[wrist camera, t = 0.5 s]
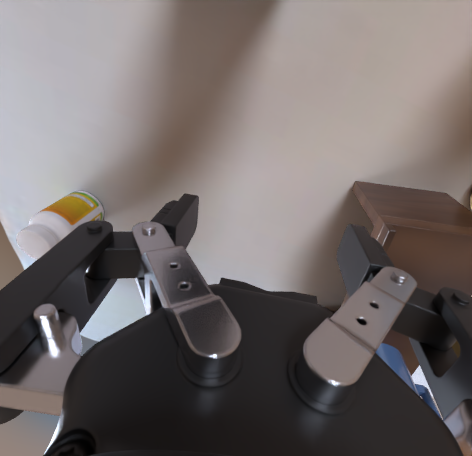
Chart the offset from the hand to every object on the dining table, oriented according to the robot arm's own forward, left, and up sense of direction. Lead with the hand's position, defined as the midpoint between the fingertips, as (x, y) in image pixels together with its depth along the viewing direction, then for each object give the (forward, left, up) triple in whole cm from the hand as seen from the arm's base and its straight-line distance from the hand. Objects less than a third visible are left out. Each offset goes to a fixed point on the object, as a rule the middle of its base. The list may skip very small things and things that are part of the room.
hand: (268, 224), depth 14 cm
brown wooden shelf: (+14, +15, -18) cm, 27 cm away
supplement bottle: (+12, -25, -19) cm, 33 cm away
